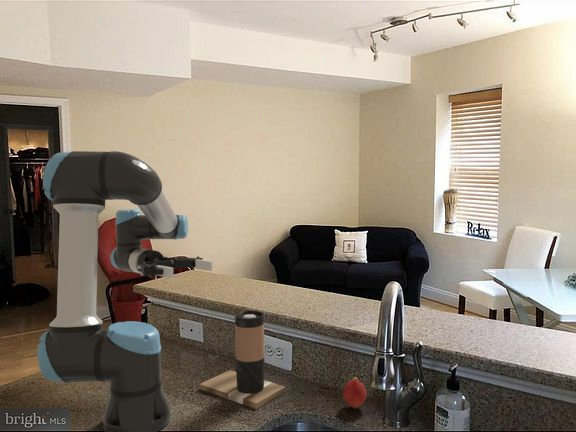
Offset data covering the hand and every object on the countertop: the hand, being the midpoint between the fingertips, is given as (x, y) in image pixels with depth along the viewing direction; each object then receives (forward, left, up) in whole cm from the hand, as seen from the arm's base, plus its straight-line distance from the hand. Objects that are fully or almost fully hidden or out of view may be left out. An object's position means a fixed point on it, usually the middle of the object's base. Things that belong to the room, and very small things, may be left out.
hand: (192, 269), depth 140 cm
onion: (-27, -37, -32) cm, 56 cm away
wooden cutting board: (-9, -12, -32) cm, 35 cm away
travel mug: (-12, -13, -31) cm, 36 cm away
